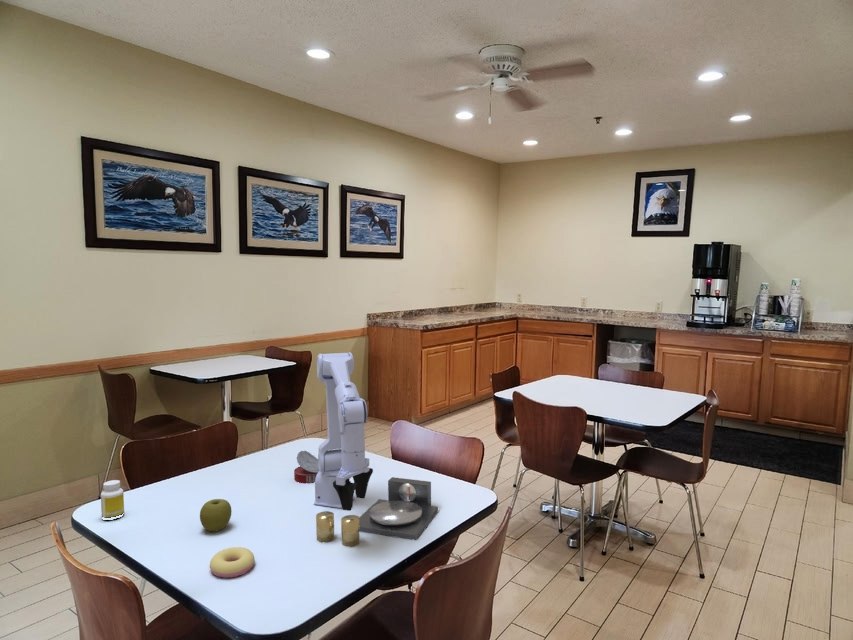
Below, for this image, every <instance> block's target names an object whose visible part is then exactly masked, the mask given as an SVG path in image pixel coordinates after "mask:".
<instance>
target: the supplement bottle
mask: <svg viewBox="0 0 853 640" xmlns="http://www.w3.org/2000/svg"><path fill="white" fill-rule="evenodd" d="M102 489H103V490H102V491H101V493H100V507H101V509H100V511H101V518H102V517H104V518H111V517H116V516H119V515H122V514H123V513H124V514H125V502H124V501H125V500H124V489H122V488H121V480H118V479H112V480H107V481H105V482H103V487H102Z"/></svg>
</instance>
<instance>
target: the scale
mask: <svg viewBox="0 0 853 640" xmlns="http://www.w3.org/2000/svg"><path fill="white" fill-rule="evenodd" d="M387 485H388V486H387V491H388V492H387V493H388V494H387V495H388V498H387V499H381V498H379V499H377V500H376V501H375V502H374V503H373V504H372V505H371V506H370V507H369V508H368V509H366V511H365V512H363V513H362V514H361V515H360V516H358V517H359V533H361V532H362V533H367V534H375V535H380V536H388V537H395V538H398V539H399V538H400V539H406V538H407V539H406V540H412V539H414V540H413V541H417V540H416V539H418V538H419V537H420V536H419V535H421V534H422V533H423V532H424V530H425V529H426V528H427V526H428V525H429V524H430V523H431V521H432V520H433V519H434V517H435V516H436V514H437V513H438V512H439V507H438V506H436V505H435V506H434V505H432V481H428V480H421V479H420V480H419V479H411V478H402V477H401V478H400V477H395V476H394V477H393V476H392V477H390V479H388V480H387ZM387 501H408V502H412V503H415V504H417V505H419V506H420V507H421V509H422V516H421V517H420V518H419V519H418V520H416V521H414V522H412V523H409V524H404V525H384V524H380V523H377V522H375V521H373V520H372V519H371V518H370V510H371V508H372V507H374V506H375V505H377V504H379V503H383V502H387ZM437 511H438V512H437ZM434 515H435V516H434ZM431 519H432V520H431ZM428 523H429V524H428ZM425 527H426V528H425ZM424 528H425V529H424ZM422 531H423V532H422Z"/></svg>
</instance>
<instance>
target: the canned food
mask: <svg viewBox="0 0 853 640" xmlns="http://www.w3.org/2000/svg"><path fill="white" fill-rule="evenodd" d="M296 460H297V461H296V462H297V464H298V467H296V468H295V469H294V470H293V471H294V472H293V473H294V476H293V477H294V478H293V479H294V482H296V483H298V482H299V484H306V483H307V484H315V483H314V482H315V479H316V475H317V473H318V472H319V466H318V457H316V456H315V455H313V454H312V453H310V452H309V451H307V450H300V451H299V452H298V453H297V456H296Z"/></svg>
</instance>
